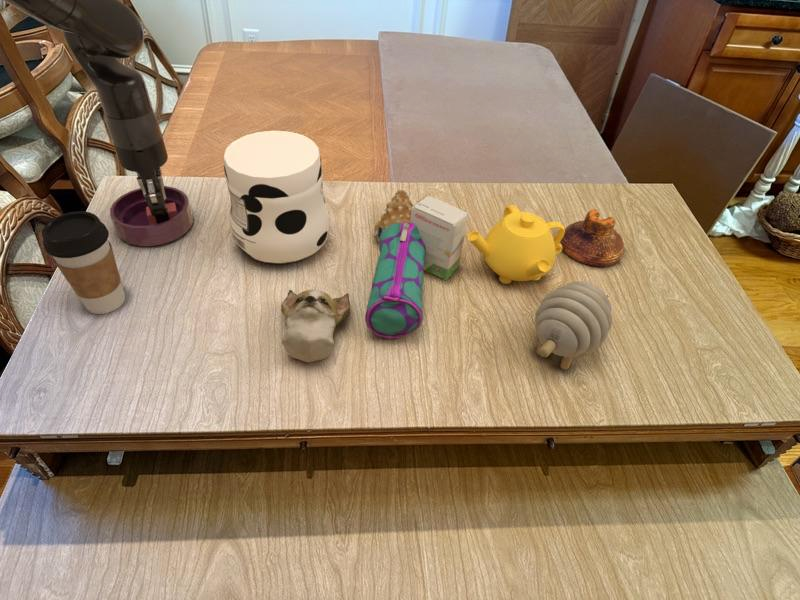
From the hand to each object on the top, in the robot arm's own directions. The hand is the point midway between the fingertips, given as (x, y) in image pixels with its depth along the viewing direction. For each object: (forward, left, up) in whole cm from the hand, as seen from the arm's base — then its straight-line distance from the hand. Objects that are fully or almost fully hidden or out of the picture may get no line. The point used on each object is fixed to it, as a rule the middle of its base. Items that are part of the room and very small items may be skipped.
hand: (164, 221), depth 100 cm
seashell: (+40, -15, -1) cm, 43 cm away
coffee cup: (-11, -18, -1) cm, 21 cm away
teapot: (+55, -33, -1) cm, 64 cm away
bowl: (-2, 0, -1) cm, 2 cm away
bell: (+73, -32, -1) cm, 80 cm away
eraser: (0, 0, 0) cm, 0 cm away
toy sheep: (+53, -51, -1) cm, 74 cm away
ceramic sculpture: (+18, -36, -1) cm, 40 cm away
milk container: (+19, -12, -1) cm, 23 cm away
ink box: (+43, -27, -1) cm, 51 cm away
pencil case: (+34, -32, -1) cm, 47 cm away
